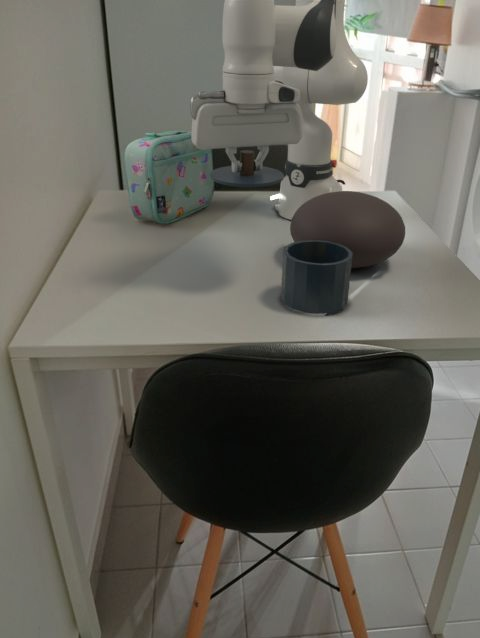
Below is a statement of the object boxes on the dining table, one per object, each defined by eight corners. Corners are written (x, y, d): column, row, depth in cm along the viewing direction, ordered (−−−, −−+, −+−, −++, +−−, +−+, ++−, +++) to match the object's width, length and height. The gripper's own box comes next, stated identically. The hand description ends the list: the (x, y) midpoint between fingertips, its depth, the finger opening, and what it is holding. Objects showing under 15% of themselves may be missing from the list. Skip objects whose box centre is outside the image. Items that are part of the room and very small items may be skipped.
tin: (301, 282, 124) (303, 235, 119) (357, 297, 118) (363, 249, 113) (269, 304, 114) (270, 254, 109) (329, 322, 109) (334, 270, 104)
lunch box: (157, 232, 148) (151, 141, 137) (124, 224, 152) (116, 135, 141) (218, 205, 168) (217, 124, 157) (188, 199, 172) (185, 120, 162)
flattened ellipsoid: (408, 251, 141) (418, 187, 134) (390, 292, 121) (400, 219, 113) (306, 236, 148) (310, 174, 141) (272, 273, 128) (275, 203, 120)
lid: (235, 167, 121) (235, 140, 118) (296, 178, 115) (297, 150, 113) (195, 182, 111) (194, 153, 108) (259, 195, 105) (260, 164, 102)
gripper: (195, 94, 99) (197, 179, 106) (308, 91, 106) (303, 171, 113) (184, 89, 104) (188, 170, 111) (293, 86, 111) (290, 163, 118)
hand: (247, 171), depth 112 cm, fingers closed on lid, 2 cm apart
